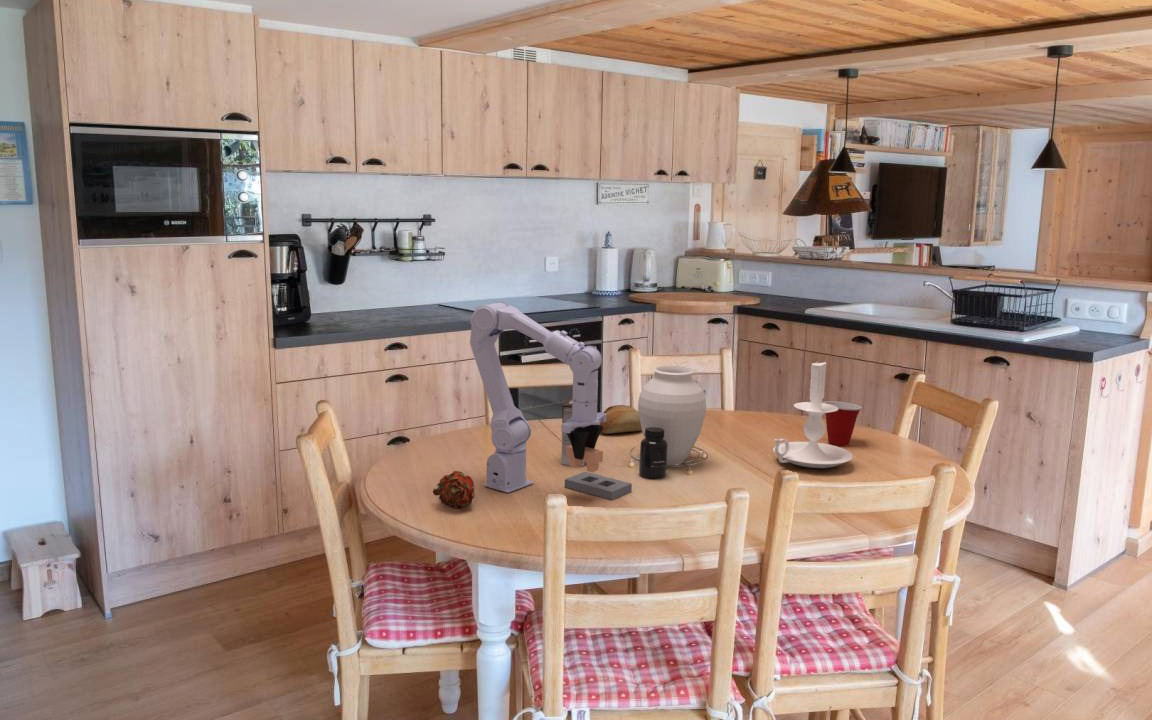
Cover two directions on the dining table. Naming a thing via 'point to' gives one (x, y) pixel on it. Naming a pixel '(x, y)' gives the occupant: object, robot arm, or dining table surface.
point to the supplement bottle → (653, 454)
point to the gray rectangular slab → (598, 485)
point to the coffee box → (565, 440)
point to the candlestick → (813, 430)
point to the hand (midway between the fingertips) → (583, 457)
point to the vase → (673, 409)
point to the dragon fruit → (455, 490)
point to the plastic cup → (841, 422)
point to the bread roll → (621, 419)
